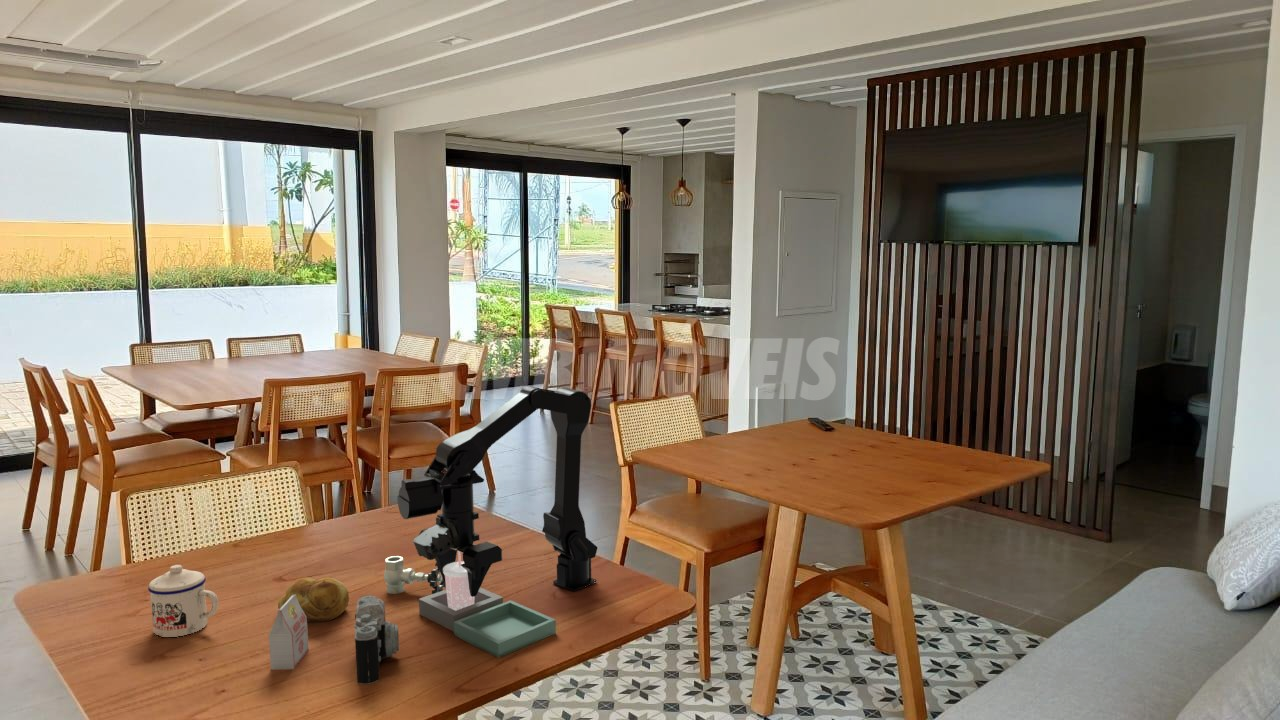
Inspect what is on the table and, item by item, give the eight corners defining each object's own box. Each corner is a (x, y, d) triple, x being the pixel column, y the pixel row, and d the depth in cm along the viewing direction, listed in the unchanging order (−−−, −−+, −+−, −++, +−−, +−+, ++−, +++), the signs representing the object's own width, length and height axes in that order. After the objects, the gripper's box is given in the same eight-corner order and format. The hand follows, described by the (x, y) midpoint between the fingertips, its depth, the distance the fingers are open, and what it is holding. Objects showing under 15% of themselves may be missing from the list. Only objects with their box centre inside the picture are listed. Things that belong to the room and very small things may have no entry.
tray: (510, 613, 164) (510, 600, 164) (555, 633, 156) (555, 619, 155) (454, 635, 155) (453, 621, 155) (498, 657, 147) (498, 643, 146)
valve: (377, 596, 173) (434, 601, 170) (376, 564, 172) (433, 568, 169) (393, 584, 179) (449, 588, 177) (392, 552, 178) (447, 556, 176)
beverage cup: (485, 611, 165) (482, 539, 163) (462, 623, 160) (459, 548, 158) (461, 604, 168) (458, 533, 167) (437, 615, 163) (434, 542, 161)
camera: (400, 680, 140) (397, 619, 138) (355, 686, 138) (351, 625, 136) (399, 640, 154) (396, 585, 152) (358, 645, 152) (355, 589, 151)
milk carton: (271, 669, 143) (267, 610, 142) (286, 650, 150) (283, 594, 149) (293, 669, 143) (290, 610, 142) (308, 650, 150) (305, 593, 149)
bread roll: (268, 622, 161) (265, 580, 160) (299, 601, 171) (296, 561, 170) (331, 628, 159) (329, 585, 158) (359, 606, 168) (357, 566, 167)
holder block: (468, 596, 172) (467, 581, 172) (503, 612, 165) (503, 597, 164) (419, 614, 164) (418, 598, 164) (454, 631, 157) (453, 615, 156)
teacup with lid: (140, 638, 155) (134, 574, 153) (174, 616, 164) (169, 556, 162) (203, 641, 153) (198, 577, 152) (234, 619, 162) (229, 558, 161)
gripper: (391, 508, 162) (394, 589, 164) (450, 530, 149) (453, 618, 152) (442, 495, 170) (445, 573, 172) (502, 515, 157) (505, 598, 160)
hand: (460, 590), depth 164 cm, fingers closed on beverage cup, 8 cm apart
